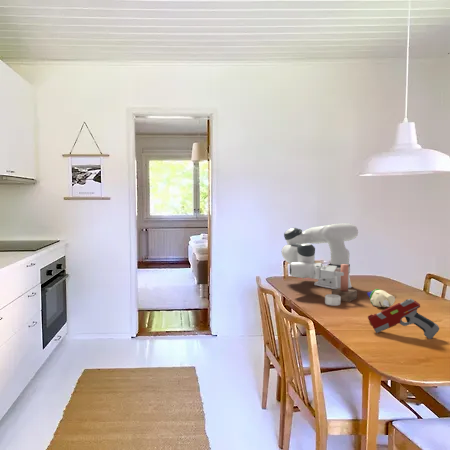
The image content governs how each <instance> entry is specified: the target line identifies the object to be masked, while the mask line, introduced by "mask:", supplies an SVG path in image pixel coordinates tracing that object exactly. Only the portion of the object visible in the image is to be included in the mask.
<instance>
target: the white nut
mask: <svg viewBox="0 0 450 450" xmlns="http://www.w3.org/2000/svg"><path fill="white" fill-rule="evenodd" d="M341 302H342V301H341V296H339V295H335V294H332V293H331V294H326V295H324V304H325V305H327V306H334V307H335V306H340V305H341Z"/></svg>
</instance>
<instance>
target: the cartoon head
mask: <svg viewBox="0 0 450 450" xmlns="http://www.w3.org/2000/svg"><path fill="white" fill-rule="evenodd" d="M366 294H367V297H368V298H369V301H370V303H371V305H372V306H374V307H375V306H376V307H379V308H386V307H387V308H389V307H391V306H394V305H395V302H396V298H395V296H394V295H393V294H390V293H388V292H387V291H386V290H383V289H379V288H374V289H373V290H371V291H368V292H366Z"/></svg>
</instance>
